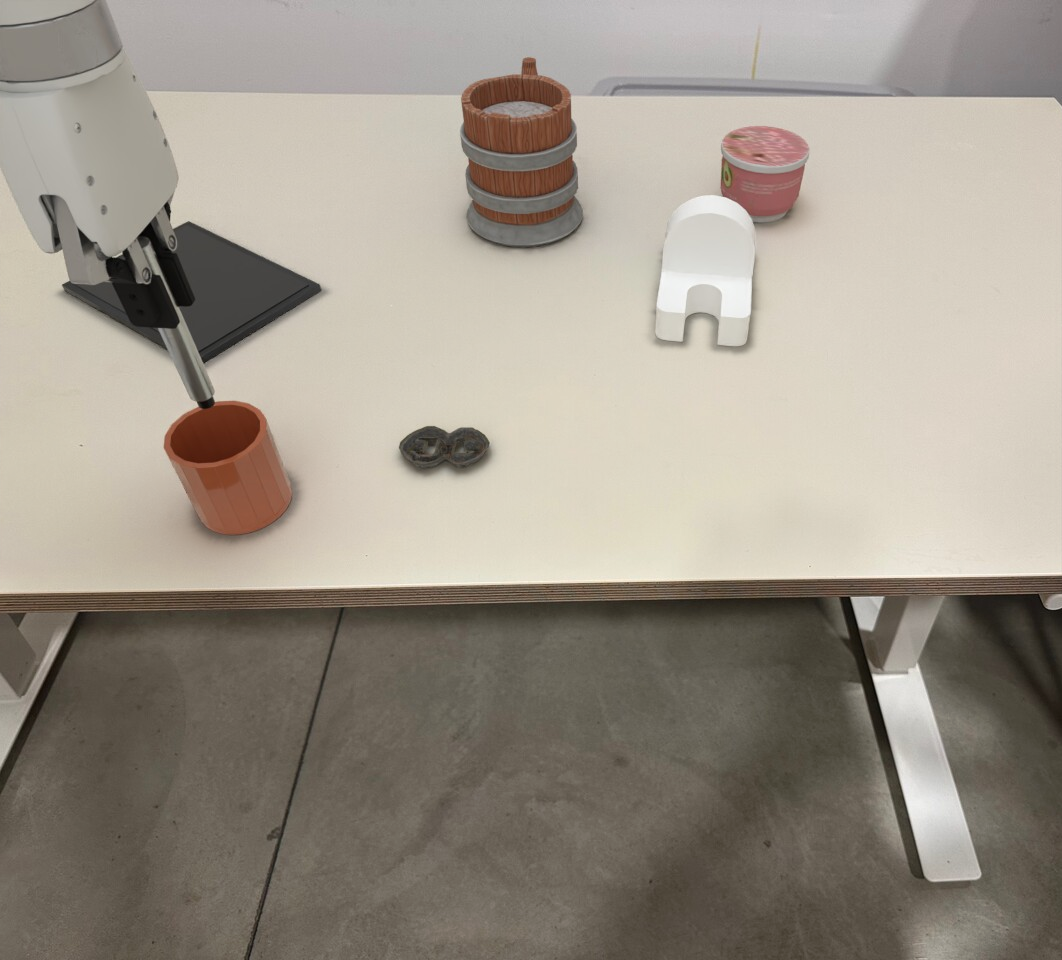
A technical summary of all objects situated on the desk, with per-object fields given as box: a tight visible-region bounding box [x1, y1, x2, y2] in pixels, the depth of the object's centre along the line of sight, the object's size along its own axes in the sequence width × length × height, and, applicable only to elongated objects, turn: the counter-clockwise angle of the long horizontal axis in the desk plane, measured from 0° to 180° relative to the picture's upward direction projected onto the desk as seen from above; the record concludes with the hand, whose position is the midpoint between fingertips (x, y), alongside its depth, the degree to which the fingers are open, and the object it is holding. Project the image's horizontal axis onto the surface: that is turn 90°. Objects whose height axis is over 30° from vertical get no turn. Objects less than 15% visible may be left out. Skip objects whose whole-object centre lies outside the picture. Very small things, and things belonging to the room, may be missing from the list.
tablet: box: [61, 220, 322, 364], centre depth 96 cm, size 16×22×1 cm
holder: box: [163, 400, 293, 536], centre depth 73 cm, size 8×8×8 cm
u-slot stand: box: [654, 194, 756, 347], centre depth 95 cm, size 10×18×11 cm, turn 174°
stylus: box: [137, 236, 216, 409], centre depth 63 cm, size 2×2×14 cm
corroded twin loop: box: [398, 425, 490, 469], centre depth 80 cm, size 5×8×1 cm, turn 91°
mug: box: [459, 56, 584, 248], centre depth 105 cm, size 14×19×15 cm
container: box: [719, 125, 810, 223], centre depth 109 cm, size 10×10×8 cm
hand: (164, 312), depth 62 cm, fingers closed on stylus, 1 cm apart
